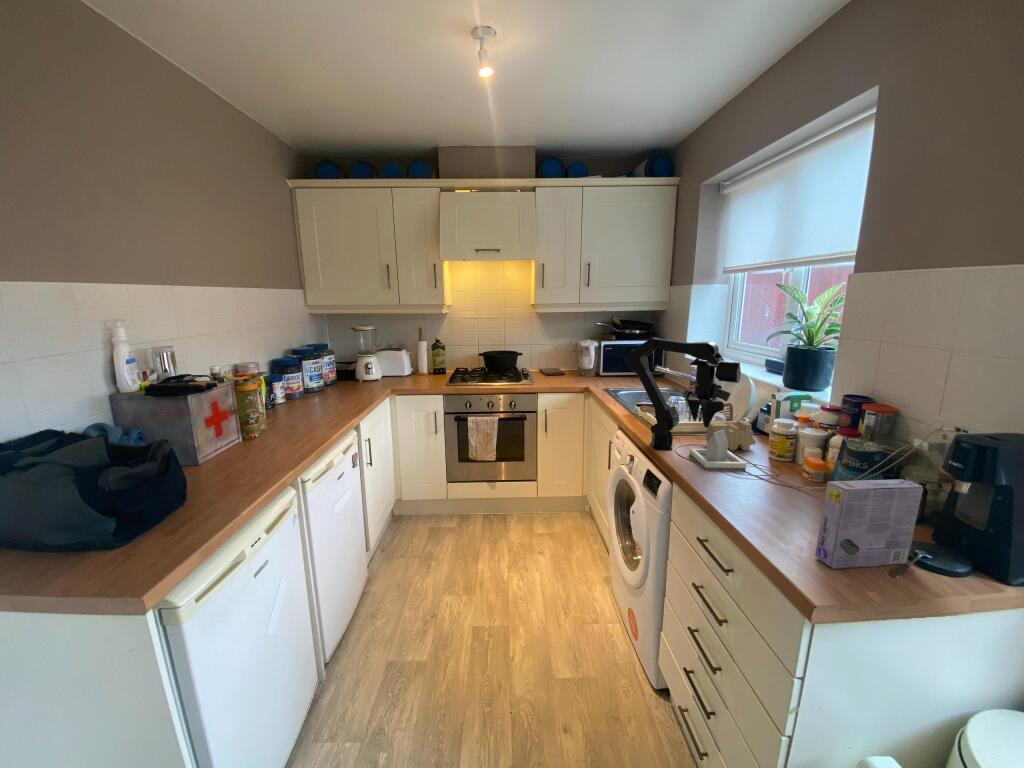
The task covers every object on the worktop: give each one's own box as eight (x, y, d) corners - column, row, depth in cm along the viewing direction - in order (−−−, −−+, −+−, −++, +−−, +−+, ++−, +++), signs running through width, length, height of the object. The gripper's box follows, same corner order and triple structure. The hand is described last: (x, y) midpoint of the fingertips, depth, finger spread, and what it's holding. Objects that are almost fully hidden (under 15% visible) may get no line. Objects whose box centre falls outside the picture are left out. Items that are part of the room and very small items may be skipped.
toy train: (754, 450, 150) (758, 424, 148) (710, 451, 149) (713, 425, 147) (744, 445, 156) (748, 420, 154) (702, 446, 154) (704, 420, 152)
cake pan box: (889, 550, 91) (905, 476, 87) (913, 564, 86) (932, 486, 82) (811, 556, 89) (824, 480, 85) (831, 571, 84) (846, 491, 80)
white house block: (726, 459, 139) (729, 431, 137) (715, 463, 135) (719, 434, 133) (715, 455, 142) (718, 428, 140) (705, 460, 138) (708, 431, 136)
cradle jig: (705, 470, 133) (706, 462, 132) (689, 455, 145) (690, 448, 145) (745, 470, 132) (746, 463, 132) (725, 455, 145) (726, 449, 144)
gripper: (743, 385, 130) (737, 432, 133) (715, 374, 148) (711, 415, 151) (707, 384, 130) (703, 431, 133) (684, 374, 148) (680, 415, 151)
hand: (700, 423), depth 142 cm, fingers open, 9 cm apart
